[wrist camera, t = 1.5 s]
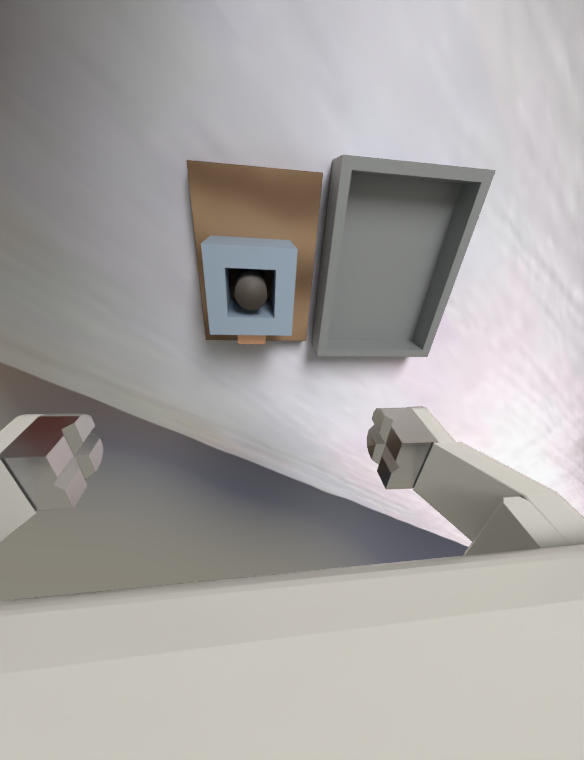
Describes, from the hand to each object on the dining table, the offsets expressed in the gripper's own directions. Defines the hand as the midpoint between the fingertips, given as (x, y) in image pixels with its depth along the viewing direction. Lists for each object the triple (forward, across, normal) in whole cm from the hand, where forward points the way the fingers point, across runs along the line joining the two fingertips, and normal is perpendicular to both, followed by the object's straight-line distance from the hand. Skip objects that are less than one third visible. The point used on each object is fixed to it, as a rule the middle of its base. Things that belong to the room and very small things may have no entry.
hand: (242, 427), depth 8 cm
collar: (+20, 0, 0) cm, 20 cm away
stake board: (+21, -1, -1) cm, 21 cm away
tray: (+21, -13, -1) cm, 25 cm away
